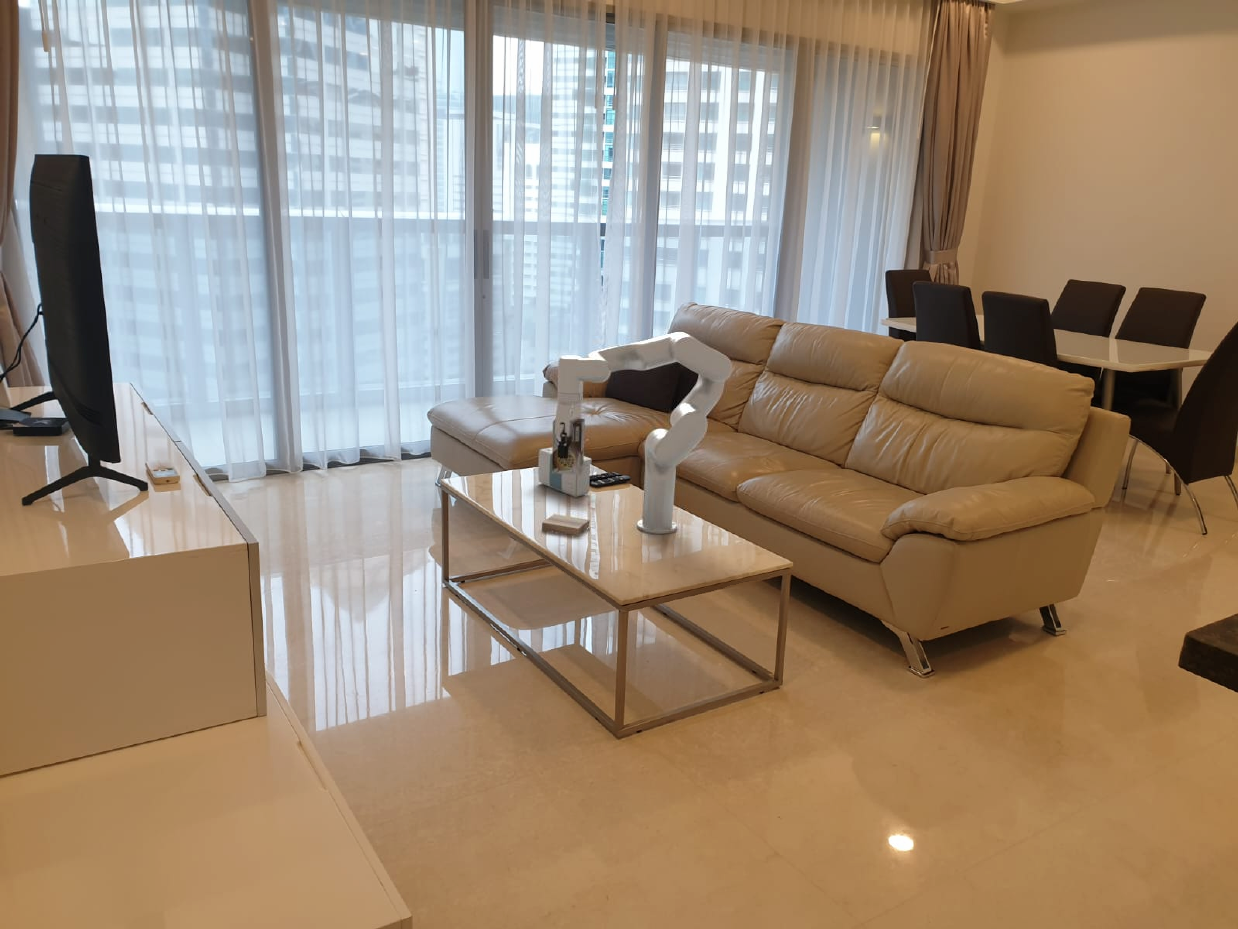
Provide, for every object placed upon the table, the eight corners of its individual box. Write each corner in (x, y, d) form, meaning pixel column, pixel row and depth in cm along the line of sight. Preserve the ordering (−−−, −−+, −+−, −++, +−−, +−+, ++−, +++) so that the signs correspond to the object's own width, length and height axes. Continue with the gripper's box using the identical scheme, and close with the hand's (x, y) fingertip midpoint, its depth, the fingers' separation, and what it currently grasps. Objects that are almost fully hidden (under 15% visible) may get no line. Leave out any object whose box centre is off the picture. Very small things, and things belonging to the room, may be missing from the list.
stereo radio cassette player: (536, 484, 324) (538, 430, 319) (554, 480, 330) (556, 427, 324) (573, 499, 310) (576, 442, 304) (592, 495, 315) (594, 439, 310)
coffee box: (583, 469, 278) (585, 418, 274) (580, 475, 272) (582, 423, 267) (554, 467, 279) (556, 416, 274) (550, 473, 272) (552, 421, 268)
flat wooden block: (554, 521, 286) (554, 514, 285) (589, 527, 282) (589, 520, 282) (541, 530, 278) (542, 522, 277) (577, 536, 274) (578, 528, 273)
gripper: (570, 391, 278) (568, 447, 283) (546, 401, 262) (544, 459, 267) (592, 394, 276) (590, 450, 280) (570, 404, 260) (568, 463, 265)
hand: (568, 454), depth 274 cm, fingers closed on coffee box, 7 cm apart
